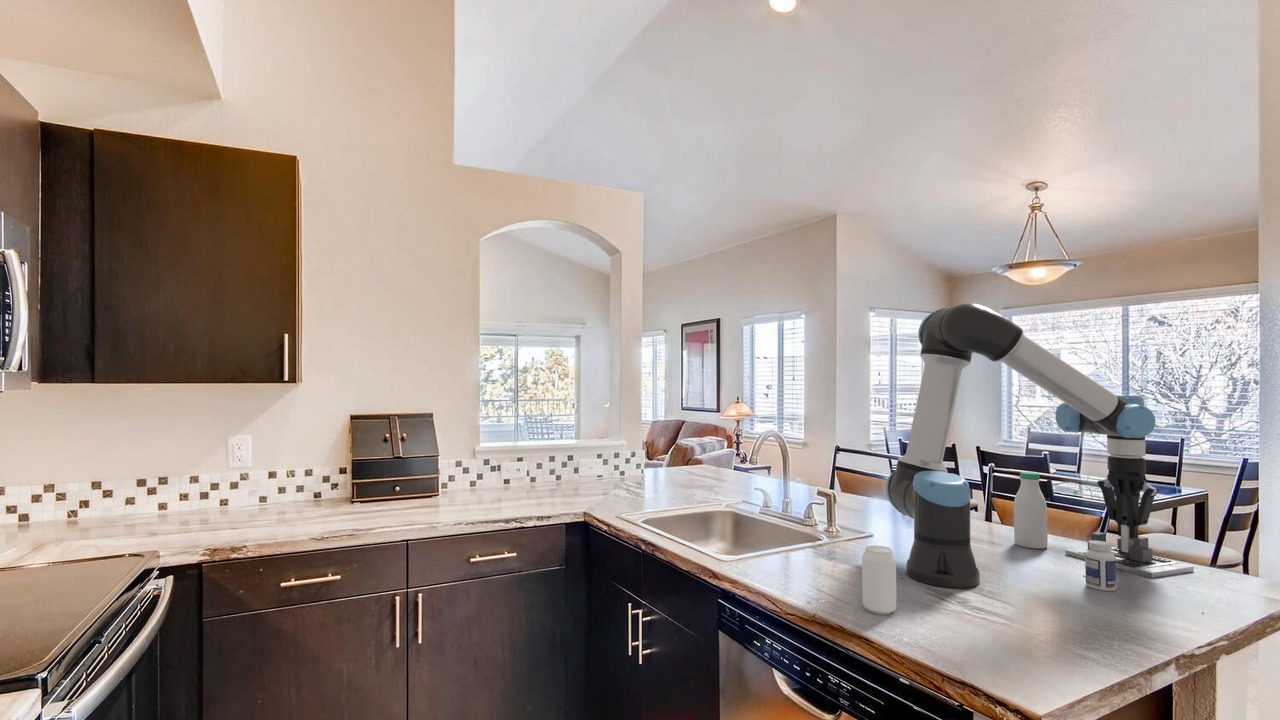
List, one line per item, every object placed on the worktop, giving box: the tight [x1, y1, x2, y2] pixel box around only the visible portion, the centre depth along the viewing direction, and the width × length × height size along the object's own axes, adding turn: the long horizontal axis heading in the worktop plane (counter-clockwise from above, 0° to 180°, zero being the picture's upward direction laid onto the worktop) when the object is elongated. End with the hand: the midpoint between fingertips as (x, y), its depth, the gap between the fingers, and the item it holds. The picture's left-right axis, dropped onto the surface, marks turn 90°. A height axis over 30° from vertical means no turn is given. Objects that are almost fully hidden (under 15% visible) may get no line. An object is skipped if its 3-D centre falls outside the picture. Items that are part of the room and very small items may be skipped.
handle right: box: [1116, 537, 1122, 551], centre depth 157 cm, size 4×3×5 cm
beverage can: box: [861, 544, 897, 616], centre depth 120 cm, size 6×6×12 cm
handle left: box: [1087, 531, 1107, 550], centre depth 154 cm, size 4×3×5 cm
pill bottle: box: [1084, 540, 1117, 592], centre depth 134 cm, size 5×5×10 cm
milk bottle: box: [1013, 471, 1049, 550], centre depth 168 cm, size 8×8×20 cm
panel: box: [1065, 546, 1194, 579], centre depth 152 cm, size 15×20×2 cm
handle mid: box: [1129, 536, 1154, 562], centre depth 150 cm, size 4×3×5 cm
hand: (1128, 551), depth 152 cm, fingers closed
